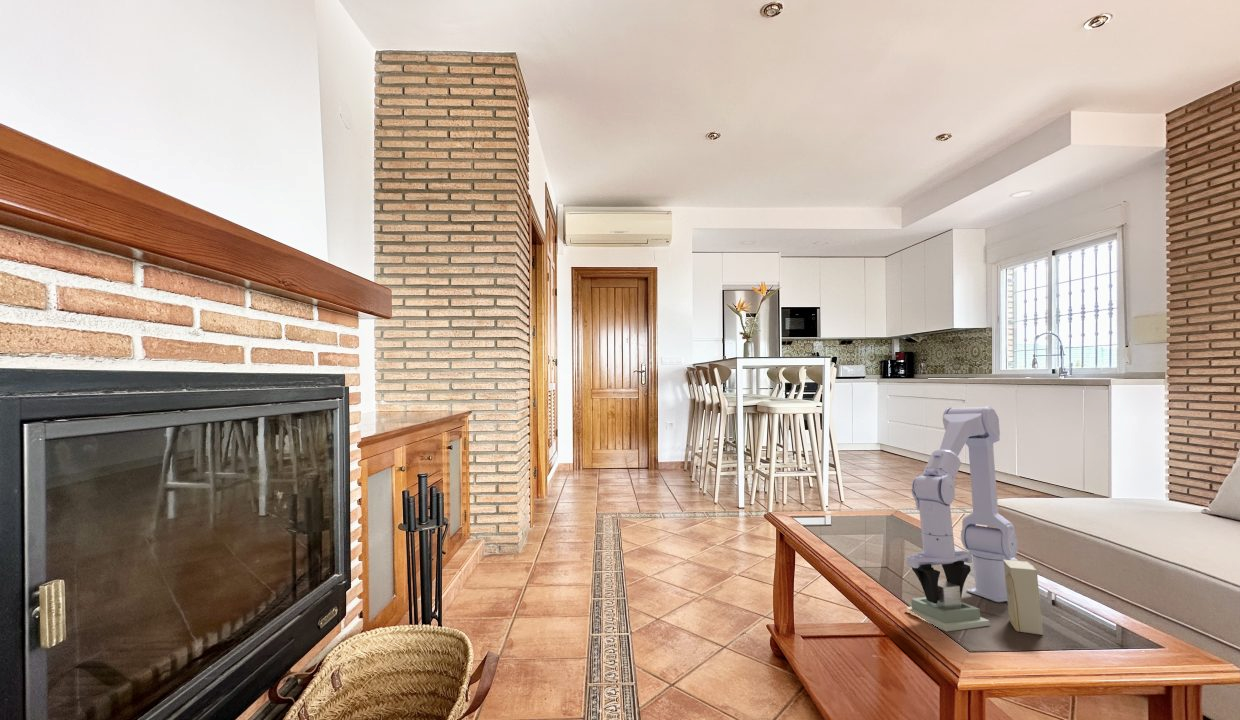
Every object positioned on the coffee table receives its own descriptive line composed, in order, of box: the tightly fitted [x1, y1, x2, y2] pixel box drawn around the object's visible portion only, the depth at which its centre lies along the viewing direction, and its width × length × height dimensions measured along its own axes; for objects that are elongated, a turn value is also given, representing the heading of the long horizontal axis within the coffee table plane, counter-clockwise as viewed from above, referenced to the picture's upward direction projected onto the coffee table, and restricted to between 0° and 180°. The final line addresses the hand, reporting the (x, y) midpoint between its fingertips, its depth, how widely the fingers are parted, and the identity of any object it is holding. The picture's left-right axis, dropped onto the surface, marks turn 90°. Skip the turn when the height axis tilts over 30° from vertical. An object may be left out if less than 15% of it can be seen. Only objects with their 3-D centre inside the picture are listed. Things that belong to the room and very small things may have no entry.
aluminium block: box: [929, 579, 962, 611], centre depth 104 cm, size 4×4×6 cm
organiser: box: [906, 596, 991, 632], centre depth 104 cm, size 10×10×3 cm
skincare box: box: [1003, 560, 1044, 636], centre depth 99 cm, size 6×4×12 cm
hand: (943, 600), depth 104 cm, fingers open, 5 cm apart
